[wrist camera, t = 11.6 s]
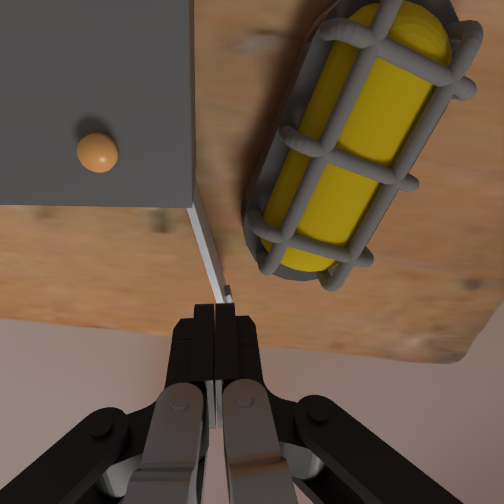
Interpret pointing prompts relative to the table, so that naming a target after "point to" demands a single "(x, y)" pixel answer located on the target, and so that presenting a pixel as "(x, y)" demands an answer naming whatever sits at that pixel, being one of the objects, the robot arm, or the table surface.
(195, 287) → the table surface
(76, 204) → the block
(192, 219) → the side door
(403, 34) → the cage light
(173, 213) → the table surface
